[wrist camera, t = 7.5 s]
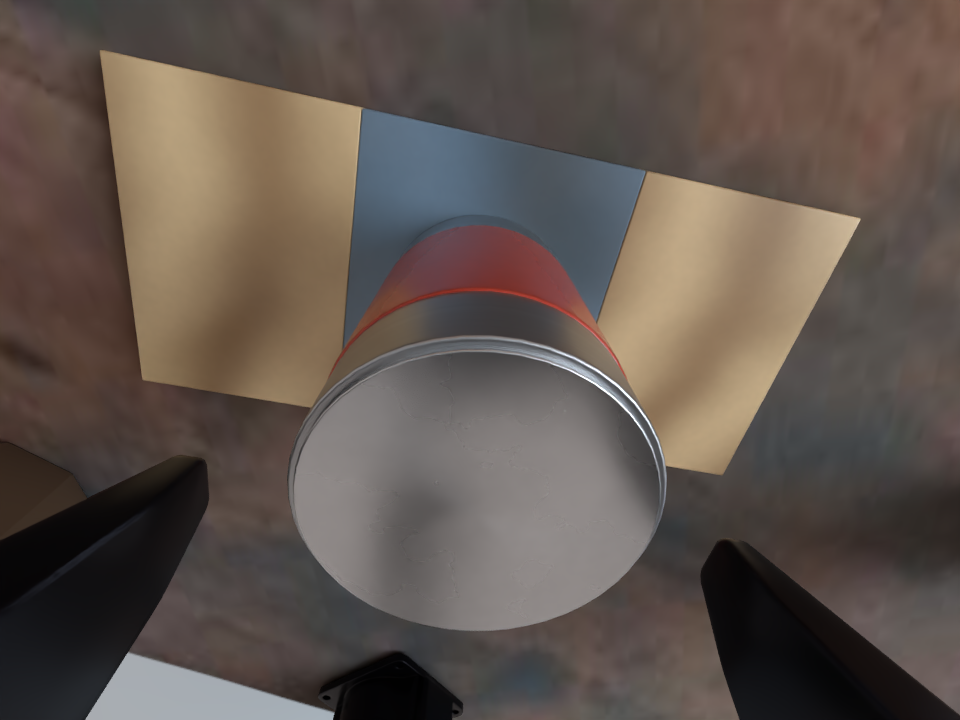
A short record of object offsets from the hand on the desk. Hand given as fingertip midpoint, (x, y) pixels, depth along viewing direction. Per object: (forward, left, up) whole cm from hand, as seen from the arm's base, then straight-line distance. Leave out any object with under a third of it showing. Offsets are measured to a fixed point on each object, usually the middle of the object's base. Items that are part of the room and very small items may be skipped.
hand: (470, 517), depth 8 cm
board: (0, 0, -11) cm, 11 cm away
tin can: (0, 0, -10) cm, 10 cm away
